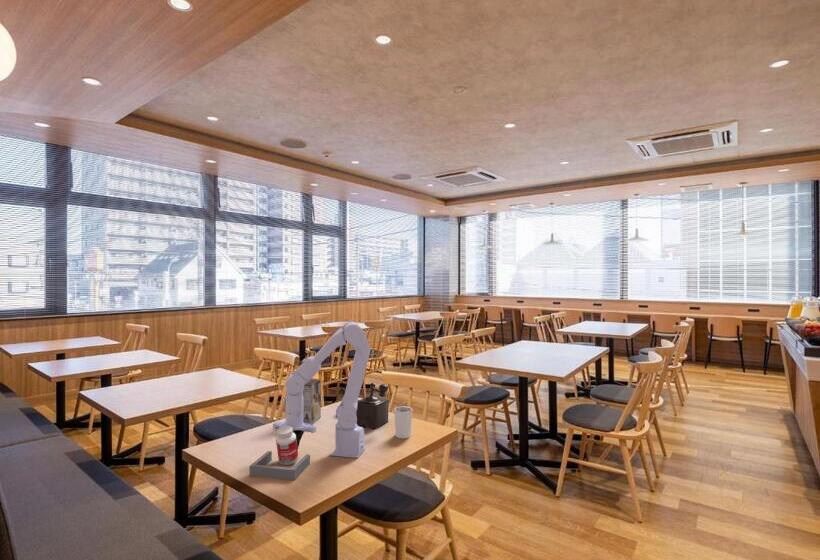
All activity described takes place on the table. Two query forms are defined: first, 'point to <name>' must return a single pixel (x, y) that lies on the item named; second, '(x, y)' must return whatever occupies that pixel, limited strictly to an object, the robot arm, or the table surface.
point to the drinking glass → (403, 422)
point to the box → (277, 468)
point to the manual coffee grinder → (373, 409)
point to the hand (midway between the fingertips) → (294, 452)
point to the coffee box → (312, 401)
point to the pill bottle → (286, 445)
